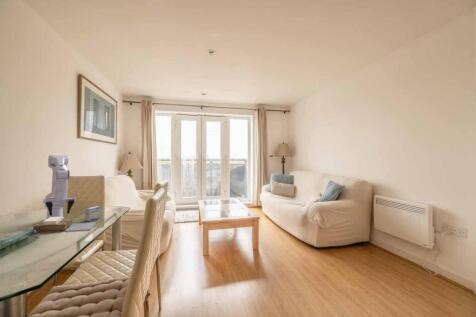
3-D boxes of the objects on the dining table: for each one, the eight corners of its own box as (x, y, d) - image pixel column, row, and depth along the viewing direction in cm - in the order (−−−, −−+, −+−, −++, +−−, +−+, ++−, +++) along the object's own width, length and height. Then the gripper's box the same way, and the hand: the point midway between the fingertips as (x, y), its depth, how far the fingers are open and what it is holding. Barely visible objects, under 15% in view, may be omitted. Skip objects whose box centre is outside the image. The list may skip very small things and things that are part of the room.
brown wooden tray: (43, 226, 124) (43, 220, 124) (71, 224, 130) (71, 218, 130) (33, 233, 113) (33, 226, 113) (64, 231, 119) (65, 224, 119)
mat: (72, 224, 131) (73, 223, 131) (96, 223, 136) (96, 222, 136) (64, 231, 118) (64, 230, 118) (90, 230, 123) (90, 229, 123)
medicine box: (89, 221, 138) (90, 209, 138) (84, 220, 139) (85, 208, 139) (99, 218, 146) (100, 206, 146) (94, 217, 147) (95, 205, 147)
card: (49, 220, 124) (50, 217, 124) (62, 219, 127) (62, 216, 127) (43, 224, 116) (43, 221, 116) (56, 224, 118) (56, 220, 118)
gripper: (45, 191, 110) (43, 217, 109) (78, 190, 121) (77, 213, 120) (43, 191, 115) (41, 215, 114) (75, 189, 126) (74, 212, 125)
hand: (59, 214), depth 117 cm, fingers open, 7 cm apart
